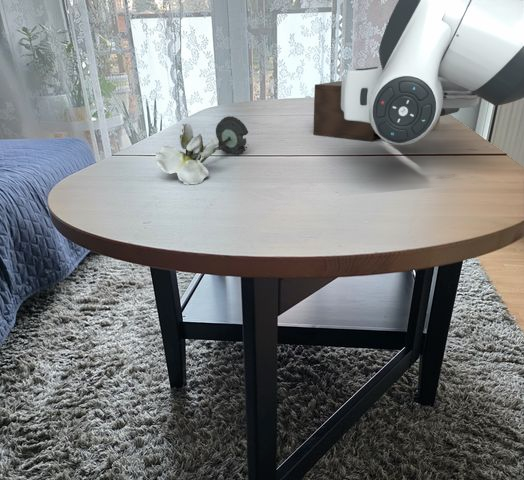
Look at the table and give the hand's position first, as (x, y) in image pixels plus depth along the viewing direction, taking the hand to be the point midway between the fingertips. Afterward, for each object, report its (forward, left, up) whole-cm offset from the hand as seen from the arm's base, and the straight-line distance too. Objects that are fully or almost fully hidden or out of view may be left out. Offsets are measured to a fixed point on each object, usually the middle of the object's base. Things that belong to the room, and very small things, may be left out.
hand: (410, 86), depth 81 cm
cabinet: (+2, -26, -11) cm, 28 cm away
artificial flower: (+32, +3, -11) cm, 34 cm away
